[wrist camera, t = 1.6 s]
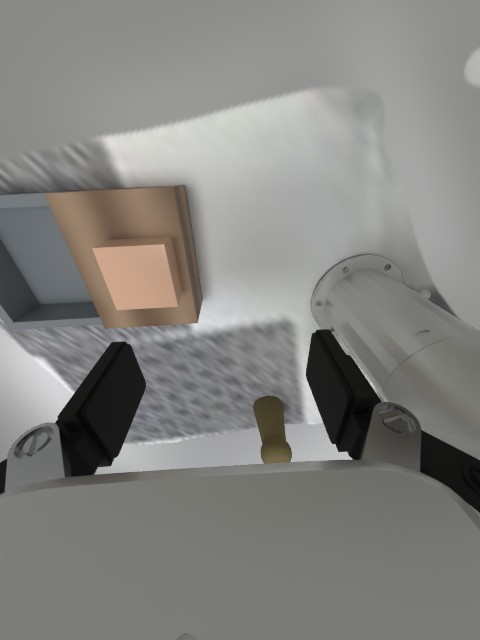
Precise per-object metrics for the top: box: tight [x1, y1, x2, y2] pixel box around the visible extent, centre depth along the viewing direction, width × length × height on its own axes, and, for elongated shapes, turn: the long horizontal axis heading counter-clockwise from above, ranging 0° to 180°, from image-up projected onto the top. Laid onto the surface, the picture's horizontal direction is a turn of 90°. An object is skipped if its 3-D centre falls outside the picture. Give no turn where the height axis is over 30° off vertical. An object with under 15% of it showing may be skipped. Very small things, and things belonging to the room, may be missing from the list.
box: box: [0, 190, 103, 330], centre depth 25 cm, size 12×14×5 cm
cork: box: [253, 396, 292, 464], centre depth 41 cm, size 6×6×11 cm
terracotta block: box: [92, 236, 183, 310], centre depth 21 cm, size 6×6×3 cm
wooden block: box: [44, 185, 202, 329], centre depth 25 cm, size 11×14×6 cm
